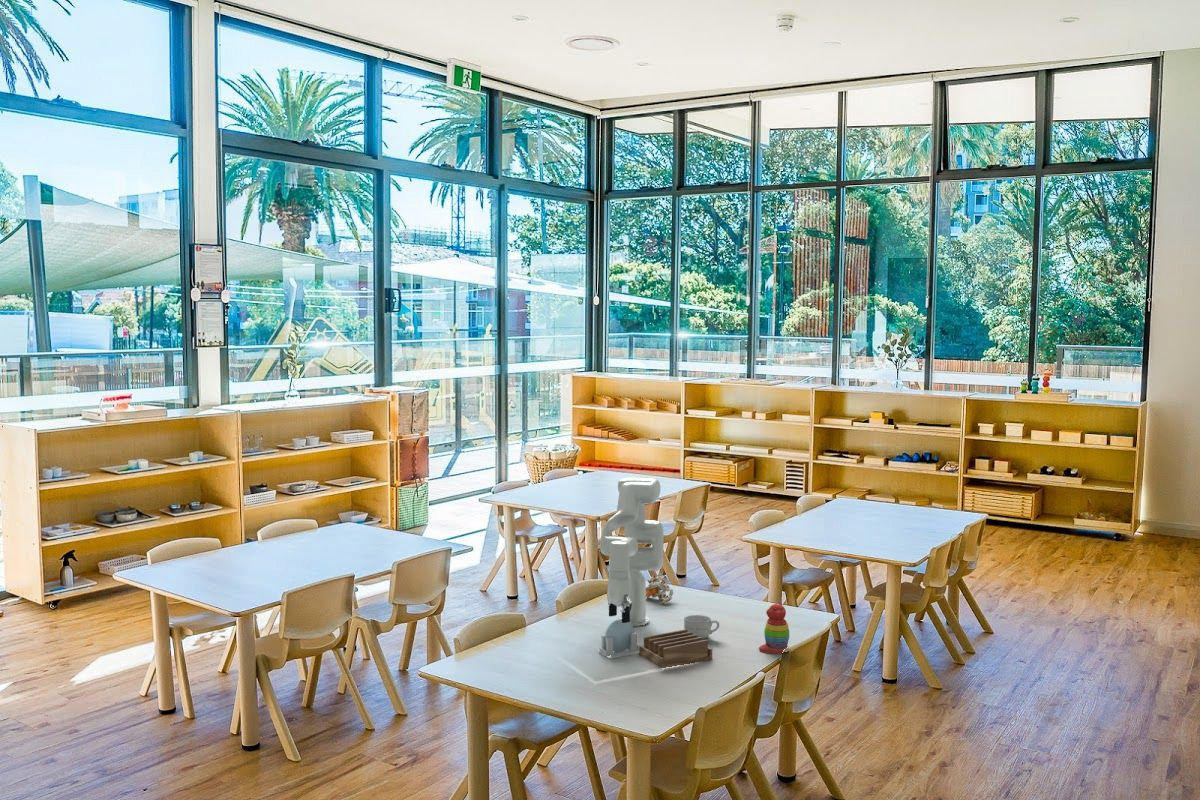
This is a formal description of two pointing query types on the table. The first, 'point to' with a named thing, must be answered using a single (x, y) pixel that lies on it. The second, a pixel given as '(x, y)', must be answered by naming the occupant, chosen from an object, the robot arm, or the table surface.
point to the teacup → (700, 625)
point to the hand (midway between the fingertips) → (619, 619)
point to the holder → (608, 650)
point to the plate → (619, 635)
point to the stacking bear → (775, 630)
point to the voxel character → (658, 588)
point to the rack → (675, 648)
